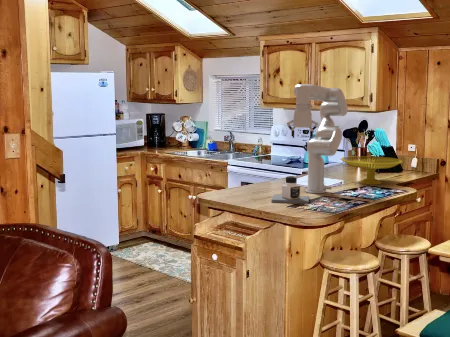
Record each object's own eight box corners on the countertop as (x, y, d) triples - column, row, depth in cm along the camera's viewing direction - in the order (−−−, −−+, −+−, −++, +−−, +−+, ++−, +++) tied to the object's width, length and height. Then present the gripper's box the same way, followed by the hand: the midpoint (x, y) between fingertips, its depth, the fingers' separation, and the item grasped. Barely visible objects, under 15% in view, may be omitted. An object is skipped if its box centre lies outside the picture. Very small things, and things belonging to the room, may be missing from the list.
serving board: (309, 198, 335) (309, 196, 335) (308, 203, 321) (308, 201, 321) (273, 197, 338) (273, 194, 338) (271, 202, 325) (271, 199, 325)
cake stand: (396, 190, 364) (397, 165, 362) (332, 184, 382) (332, 161, 379) (407, 180, 400) (408, 158, 398) (347, 175, 418) (348, 154, 415)
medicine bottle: (290, 199, 325) (290, 177, 323) (281, 197, 331) (282, 176, 329) (299, 198, 329) (300, 176, 327) (291, 196, 335) (291, 175, 333)
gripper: (318, 107, 333) (317, 137, 336) (287, 106, 336) (287, 136, 339) (318, 107, 326) (317, 138, 329) (286, 107, 329) (286, 138, 332)
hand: (302, 137), depth 334 cm, fingers open, 9 cm apart
